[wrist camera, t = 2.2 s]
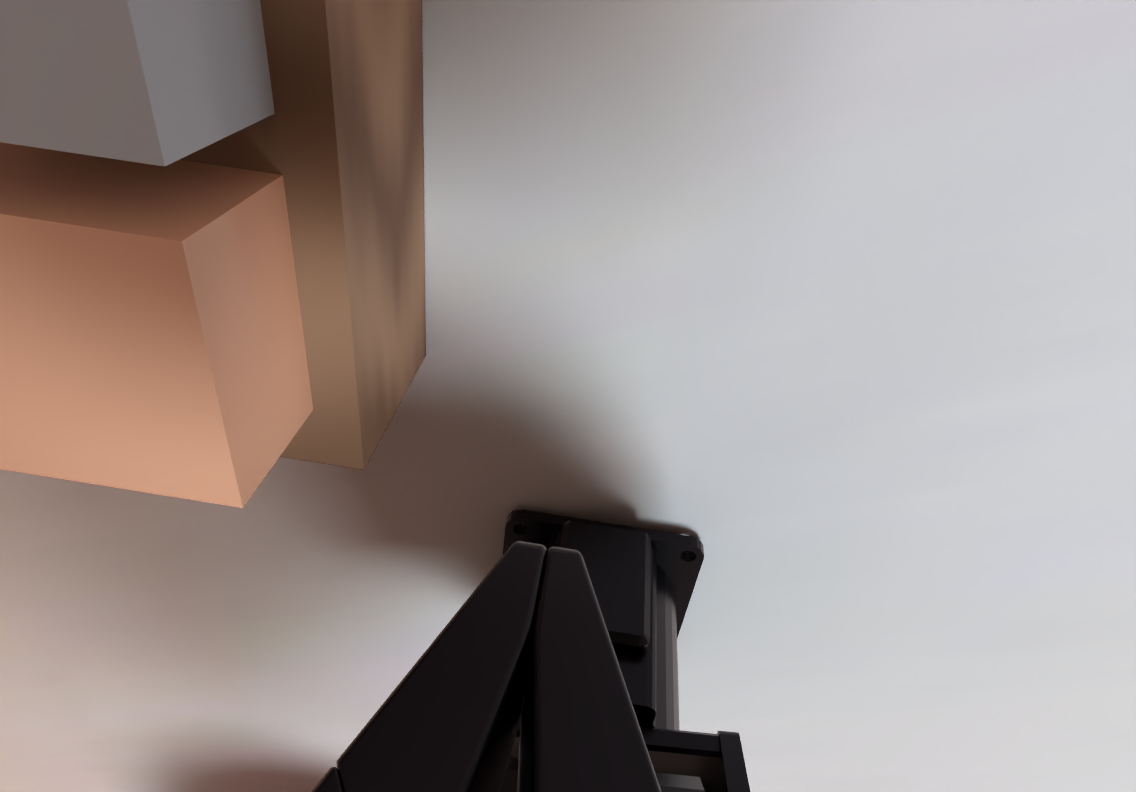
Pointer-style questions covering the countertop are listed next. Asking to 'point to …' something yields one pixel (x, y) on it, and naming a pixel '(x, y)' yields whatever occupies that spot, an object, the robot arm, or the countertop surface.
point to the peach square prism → (147, 324)
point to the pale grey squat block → (131, 75)
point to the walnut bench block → (347, 206)
